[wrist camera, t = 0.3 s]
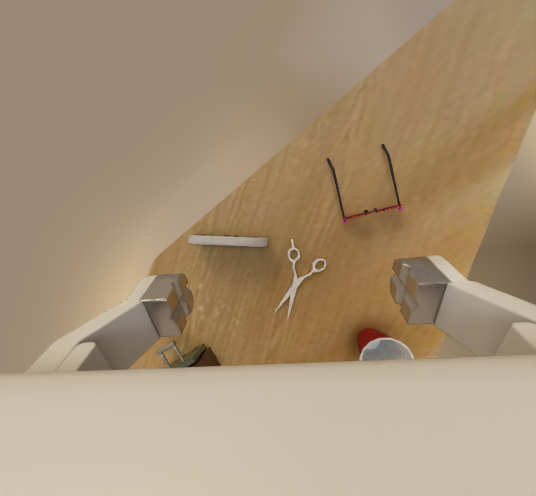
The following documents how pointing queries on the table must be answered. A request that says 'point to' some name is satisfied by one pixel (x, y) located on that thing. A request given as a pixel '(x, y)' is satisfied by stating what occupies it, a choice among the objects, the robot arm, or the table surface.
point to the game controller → (227, 240)
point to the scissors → (297, 280)
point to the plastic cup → (381, 347)
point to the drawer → (185, 360)
